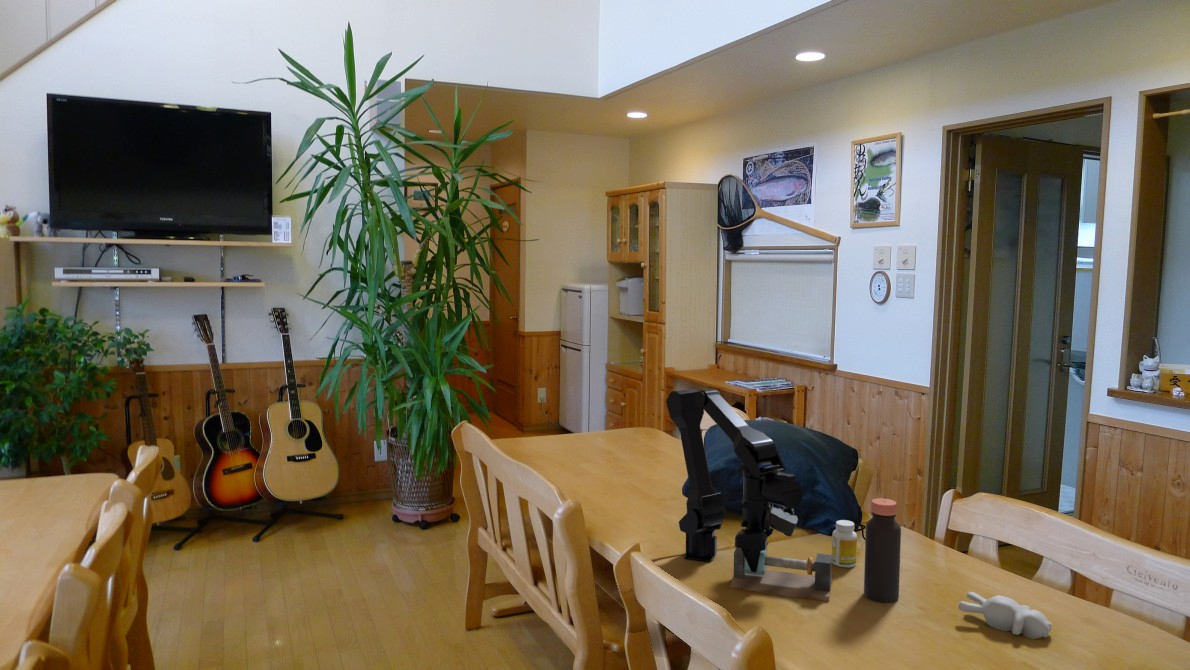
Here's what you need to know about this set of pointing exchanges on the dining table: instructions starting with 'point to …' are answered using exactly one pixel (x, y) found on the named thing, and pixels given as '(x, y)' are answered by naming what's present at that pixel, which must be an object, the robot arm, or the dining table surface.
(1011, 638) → the dining table surface
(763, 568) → the sleeve
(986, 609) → the bunny figurine
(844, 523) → the supplement bottle
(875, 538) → the water bottle
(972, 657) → the dining table surface
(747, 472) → the robot arm
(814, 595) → the rod stand
